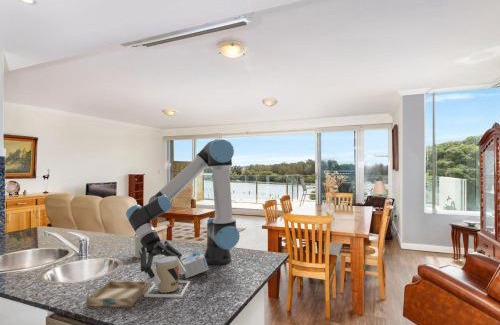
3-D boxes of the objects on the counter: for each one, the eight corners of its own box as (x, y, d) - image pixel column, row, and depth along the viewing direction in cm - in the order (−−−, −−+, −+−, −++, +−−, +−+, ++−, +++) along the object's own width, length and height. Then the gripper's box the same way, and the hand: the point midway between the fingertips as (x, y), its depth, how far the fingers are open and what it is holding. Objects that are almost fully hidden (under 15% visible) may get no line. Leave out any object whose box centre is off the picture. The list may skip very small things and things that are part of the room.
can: (152, 252, 167) (152, 232, 168) (151, 257, 159) (152, 235, 159) (135, 254, 164) (135, 233, 165) (134, 258, 156) (134, 236, 156)
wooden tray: (148, 287, 118) (148, 281, 118) (131, 307, 101) (131, 299, 102) (109, 286, 119) (109, 280, 119) (85, 306, 102) (85, 299, 102)
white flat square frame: (190, 282, 124) (190, 280, 124) (181, 297, 109) (181, 295, 109) (157, 281, 124) (157, 280, 124) (144, 296, 110) (144, 294, 110)
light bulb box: (180, 257, 138) (202, 249, 141) (184, 270, 139) (205, 262, 142) (182, 265, 128) (205, 256, 131) (186, 279, 128) (209, 270, 131)
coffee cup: (173, 293, 111) (171, 262, 112) (152, 293, 113) (150, 262, 114) (184, 284, 120) (182, 255, 121) (164, 283, 122) (162, 255, 123)
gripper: (165, 236, 136) (188, 274, 128) (118, 248, 115) (141, 294, 107) (173, 226, 133) (197, 264, 125) (126, 236, 112) (151, 283, 104)
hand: (171, 278), depth 116 cm, fingers open, 13 cm apart
